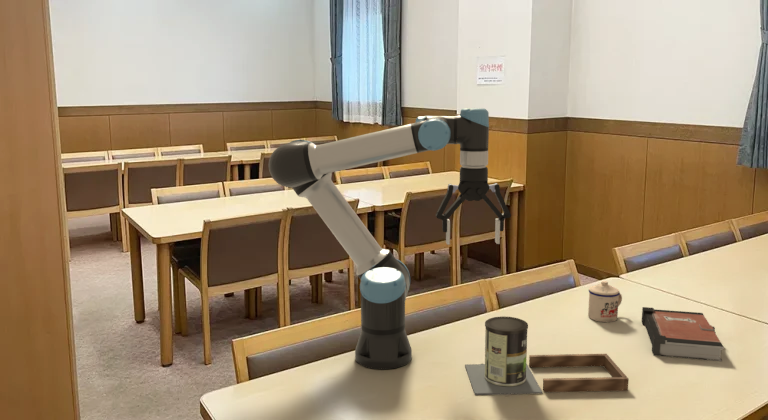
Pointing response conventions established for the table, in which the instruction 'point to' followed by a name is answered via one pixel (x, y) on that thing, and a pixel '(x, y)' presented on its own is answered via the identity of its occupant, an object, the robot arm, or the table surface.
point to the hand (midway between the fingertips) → (472, 243)
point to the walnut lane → (580, 384)
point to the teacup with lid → (604, 302)
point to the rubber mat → (487, 388)
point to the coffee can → (505, 351)
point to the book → (681, 334)
